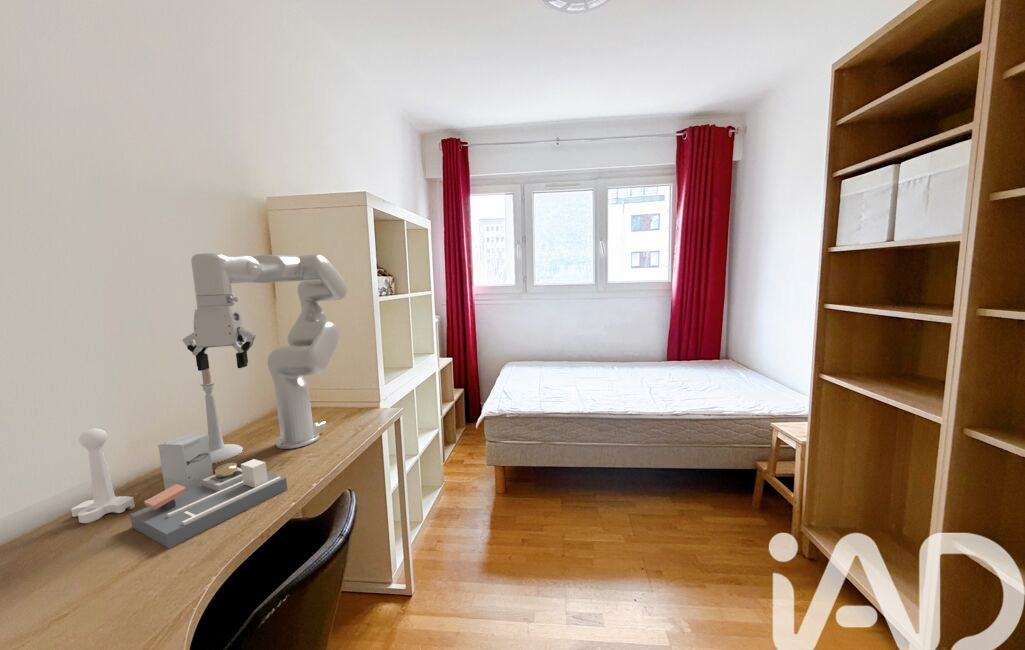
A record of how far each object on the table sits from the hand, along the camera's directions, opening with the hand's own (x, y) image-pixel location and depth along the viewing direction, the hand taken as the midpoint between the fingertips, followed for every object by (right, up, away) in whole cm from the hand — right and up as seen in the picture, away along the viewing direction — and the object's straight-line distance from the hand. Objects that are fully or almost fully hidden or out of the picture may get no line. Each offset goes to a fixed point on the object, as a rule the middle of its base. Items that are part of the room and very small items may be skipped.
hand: (223, 368), depth 102 cm
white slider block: (+13, -27, -7) cm, 31 cm away
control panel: (+6, -31, -11) cm, 33 cm away
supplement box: (-9, -31, +1) cm, 32 cm away
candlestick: (-16, -29, +19) cm, 38 cm away
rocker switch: (-1, -27, -15) cm, 31 cm away
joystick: (-20, -33, -11) cm, 40 cm away
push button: (+4, -26, -5) cm, 27 cm away
